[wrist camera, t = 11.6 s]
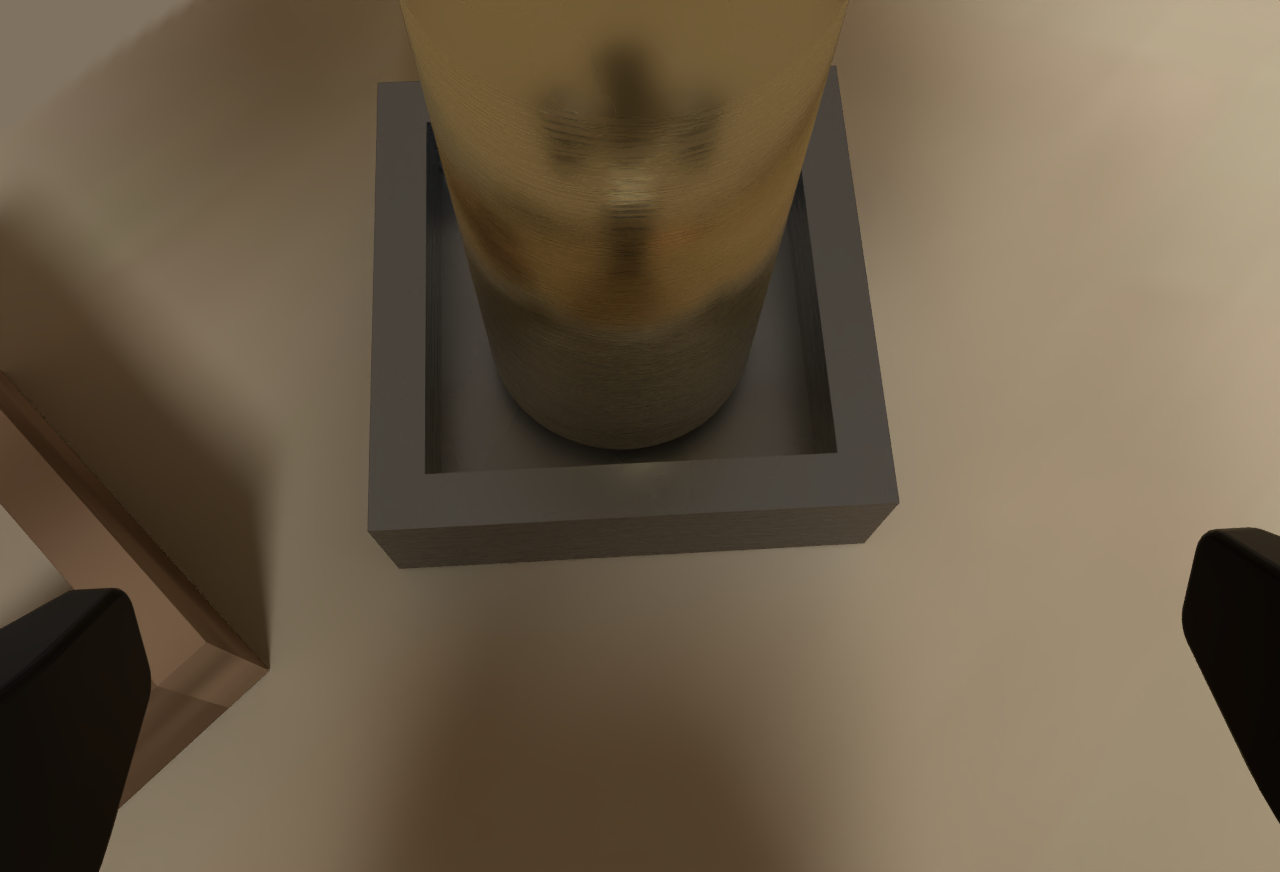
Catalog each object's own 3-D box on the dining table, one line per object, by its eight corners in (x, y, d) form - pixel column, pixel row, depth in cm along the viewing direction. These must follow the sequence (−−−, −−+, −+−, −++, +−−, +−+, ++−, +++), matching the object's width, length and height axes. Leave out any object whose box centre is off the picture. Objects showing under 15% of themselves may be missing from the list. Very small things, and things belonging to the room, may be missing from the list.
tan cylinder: (805, 328, 23) (960, -77, 13) (617, 504, 22) (618, 209, 11) (623, 166, 24) (628, -325, 14) (434, 322, 23) (285, -93, 13)
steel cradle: (812, 149, 26) (835, 65, 23) (863, 543, 23) (899, 502, 20) (404, 165, 25) (377, 82, 23) (399, 568, 22) (367, 531, 19)
